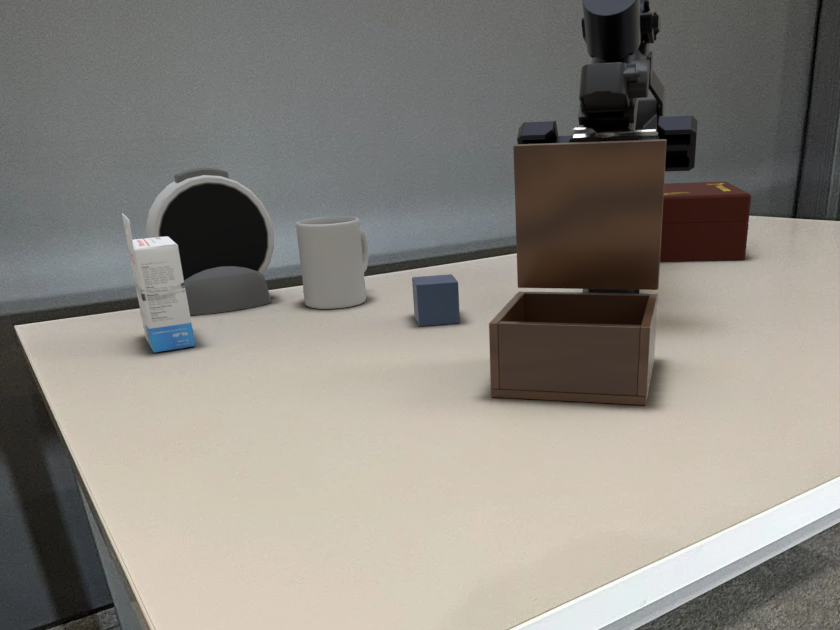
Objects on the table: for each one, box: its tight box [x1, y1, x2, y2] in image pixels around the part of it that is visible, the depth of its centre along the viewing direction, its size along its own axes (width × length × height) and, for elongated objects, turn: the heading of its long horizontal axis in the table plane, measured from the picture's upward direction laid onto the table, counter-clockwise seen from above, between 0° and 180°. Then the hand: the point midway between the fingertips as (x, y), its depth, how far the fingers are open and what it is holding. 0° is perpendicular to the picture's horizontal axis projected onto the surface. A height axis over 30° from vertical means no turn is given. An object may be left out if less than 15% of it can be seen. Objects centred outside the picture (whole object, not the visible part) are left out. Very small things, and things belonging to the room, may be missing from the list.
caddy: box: [488, 291, 659, 406], centre depth 74 cm, size 13×14×7 cm
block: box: [411, 273, 461, 327], centre depth 97 cm, size 5×5×5 cm
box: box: [660, 180, 752, 263], centre depth 133 cm, size 21×16×10 cm
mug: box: [295, 215, 369, 310], centre depth 109 cm, size 12×8×11 cm
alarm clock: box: [145, 166, 275, 316], centre depth 108 cm, size 16×10×18 cm, turn 117°
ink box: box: [121, 212, 196, 353], centre depth 91 cm, size 8×5×15 cm, turn 26°
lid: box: [513, 139, 667, 291], centre depth 74 cm, size 13×14×1 cm
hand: (598, 209), depth 83 cm, fingers closed
